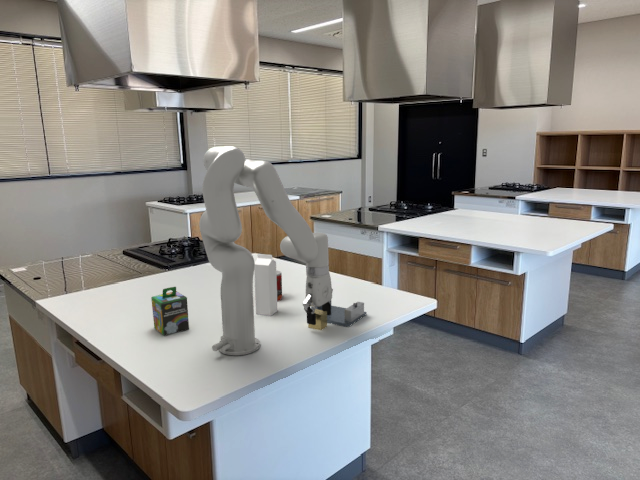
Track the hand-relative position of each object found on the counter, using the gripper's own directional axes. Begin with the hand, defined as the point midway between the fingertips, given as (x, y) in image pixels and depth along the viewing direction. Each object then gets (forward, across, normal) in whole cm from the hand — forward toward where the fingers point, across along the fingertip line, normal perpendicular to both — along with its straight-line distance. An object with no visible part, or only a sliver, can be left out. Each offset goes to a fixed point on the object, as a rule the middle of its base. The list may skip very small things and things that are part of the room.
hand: (319, 319), depth 158 cm
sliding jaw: (+2, +11, -7) cm, 14 cm away
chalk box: (+2, -27, +42) cm, 50 cm away
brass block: (+3, -1, 0) cm, 3 cm away
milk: (+3, +2, +24) cm, 25 cm away
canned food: (+3, +16, +32) cm, 36 cm away
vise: (+3, +11, -1) cm, 12 cm away
